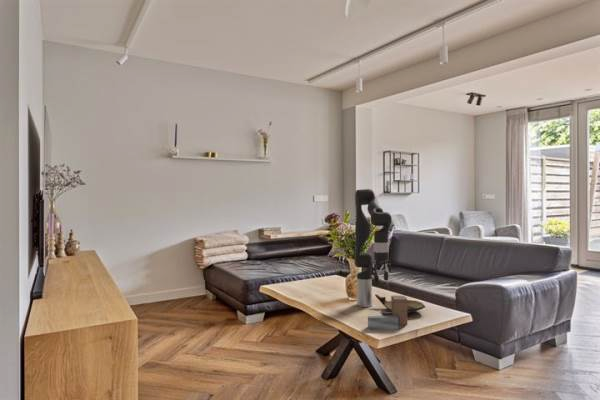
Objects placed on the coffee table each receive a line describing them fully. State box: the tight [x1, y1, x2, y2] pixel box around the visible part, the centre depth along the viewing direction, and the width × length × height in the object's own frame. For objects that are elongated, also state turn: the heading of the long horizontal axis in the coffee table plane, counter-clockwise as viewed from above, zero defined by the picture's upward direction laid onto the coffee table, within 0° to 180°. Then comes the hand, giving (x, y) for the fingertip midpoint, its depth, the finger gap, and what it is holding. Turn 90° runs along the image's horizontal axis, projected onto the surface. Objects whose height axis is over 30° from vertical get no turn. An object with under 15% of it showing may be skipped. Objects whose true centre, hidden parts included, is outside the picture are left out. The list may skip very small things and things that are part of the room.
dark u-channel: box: [381, 295, 408, 326], centre depth 215 cm, size 8×12×14 cm, turn 89°
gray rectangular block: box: [367, 315, 401, 330], centre depth 207 cm, size 4×16×6 cm, turn 89°
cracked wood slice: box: [374, 294, 426, 314], centre depth 237 cm, size 22×30×8 cm
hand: (381, 281), depth 205 cm, fingers open, 8 cm apart
